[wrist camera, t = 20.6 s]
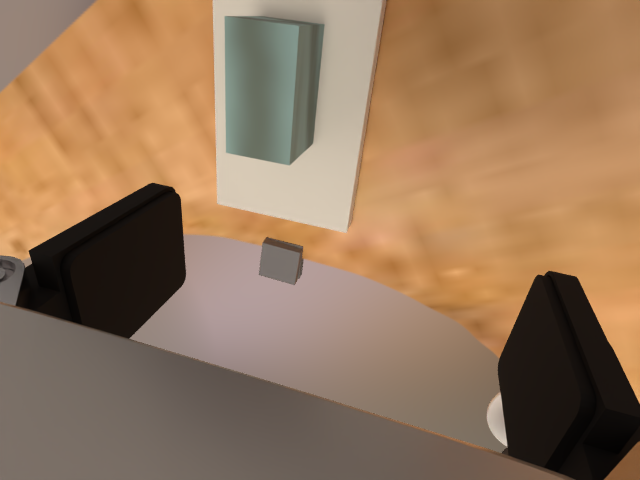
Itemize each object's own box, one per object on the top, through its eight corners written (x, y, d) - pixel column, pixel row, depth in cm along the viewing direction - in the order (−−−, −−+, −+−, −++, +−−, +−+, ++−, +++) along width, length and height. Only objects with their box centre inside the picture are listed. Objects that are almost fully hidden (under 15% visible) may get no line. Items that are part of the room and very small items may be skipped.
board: (401, -92, 28) (397, -99, 26) (351, 223, 40) (346, 233, 38) (223, -105, 30) (210, -112, 29) (226, 196, 42) (217, 203, 40)
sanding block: (324, 24, 31) (299, 25, 25) (313, 143, 35) (289, 165, 30) (261, 16, 31) (224, 16, 26) (257, 133, 36) (225, 152, 31)
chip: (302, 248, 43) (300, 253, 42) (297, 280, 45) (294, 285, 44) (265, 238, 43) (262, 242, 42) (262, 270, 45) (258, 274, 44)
